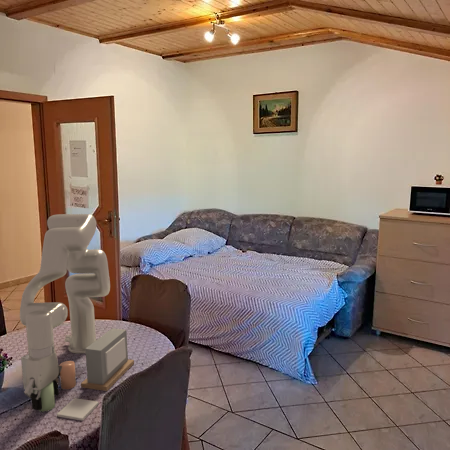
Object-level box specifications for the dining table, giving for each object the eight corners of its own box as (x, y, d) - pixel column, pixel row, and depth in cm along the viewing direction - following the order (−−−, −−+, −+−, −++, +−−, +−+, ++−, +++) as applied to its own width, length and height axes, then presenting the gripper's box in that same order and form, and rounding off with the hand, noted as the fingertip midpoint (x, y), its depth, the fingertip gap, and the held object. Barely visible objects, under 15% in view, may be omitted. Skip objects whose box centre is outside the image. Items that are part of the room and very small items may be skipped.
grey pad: (57, 416, 131) (56, 414, 131) (74, 400, 139) (74, 398, 139) (82, 420, 128) (82, 418, 128) (98, 404, 137) (98, 401, 137)
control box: (81, 387, 147) (78, 349, 145) (110, 360, 166) (108, 326, 164) (106, 391, 144) (104, 352, 142) (134, 363, 164) (132, 329, 161)
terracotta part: (57, 388, 147) (56, 366, 145) (66, 381, 151) (65, 360, 150) (70, 390, 145) (68, 368, 144) (79, 382, 150) (77, 361, 149)
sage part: (34, 410, 134) (32, 387, 133) (45, 401, 139) (43, 379, 137) (48, 412, 133) (46, 389, 131) (58, 403, 137) (56, 380, 136)
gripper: (49, 337, 142) (53, 386, 145) (10, 361, 125) (16, 416, 128) (68, 339, 140) (72, 389, 143) (32, 364, 123) (37, 419, 126)
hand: (46, 401), depth 135 cm, fingers open, 7 cm apart
